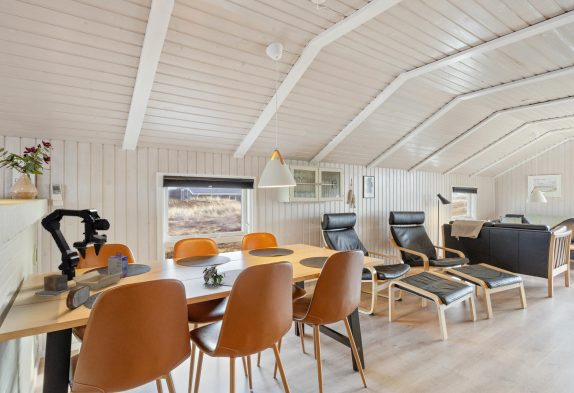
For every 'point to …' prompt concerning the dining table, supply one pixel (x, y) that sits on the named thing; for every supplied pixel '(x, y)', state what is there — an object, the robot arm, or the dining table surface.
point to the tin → (78, 296)
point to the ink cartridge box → (118, 265)
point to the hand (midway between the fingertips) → (90, 257)
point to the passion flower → (212, 275)
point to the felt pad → (52, 292)
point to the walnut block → (55, 282)
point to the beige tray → (96, 279)
